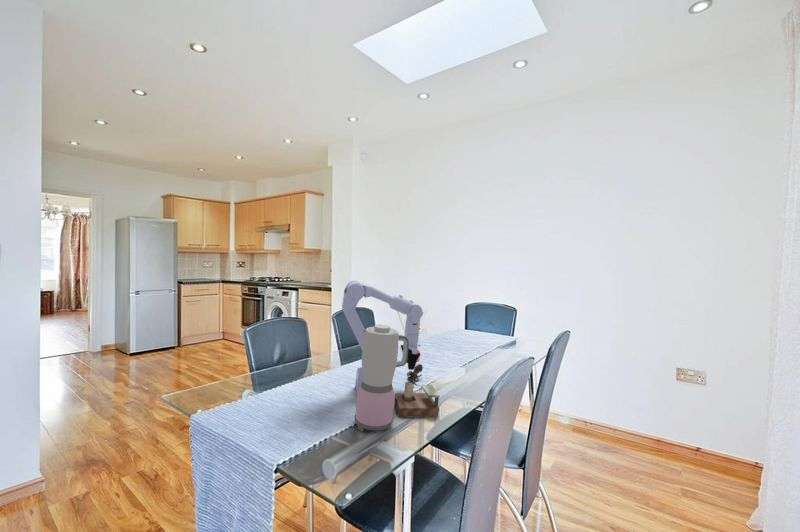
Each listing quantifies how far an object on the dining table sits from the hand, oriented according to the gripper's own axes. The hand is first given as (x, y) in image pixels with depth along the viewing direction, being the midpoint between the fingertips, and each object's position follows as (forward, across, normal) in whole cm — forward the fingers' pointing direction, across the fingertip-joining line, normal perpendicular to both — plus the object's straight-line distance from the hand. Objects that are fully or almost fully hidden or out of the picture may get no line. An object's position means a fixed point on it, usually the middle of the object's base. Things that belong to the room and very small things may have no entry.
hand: (408, 366), depth 143 cm
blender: (+10, -26, +16) cm, 32 cm away
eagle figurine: (+10, +11, -6) cm, 16 cm away
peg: (+10, -14, +3) cm, 17 cm away
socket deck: (+10, -16, +1) cm, 19 cm away
